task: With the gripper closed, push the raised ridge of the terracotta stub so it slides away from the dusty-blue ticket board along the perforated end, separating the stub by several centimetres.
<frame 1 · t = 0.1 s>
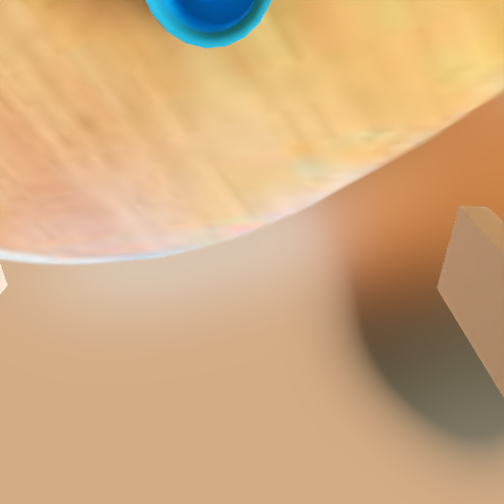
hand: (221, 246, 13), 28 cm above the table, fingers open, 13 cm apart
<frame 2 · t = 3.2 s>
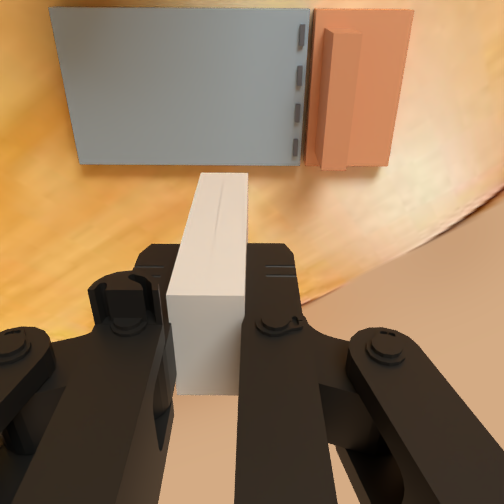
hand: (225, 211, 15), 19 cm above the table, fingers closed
stub: (358, 98, 29), point 2 cm above the table, slide at 0.0 cm
ticket: (187, 89, 31), on the table
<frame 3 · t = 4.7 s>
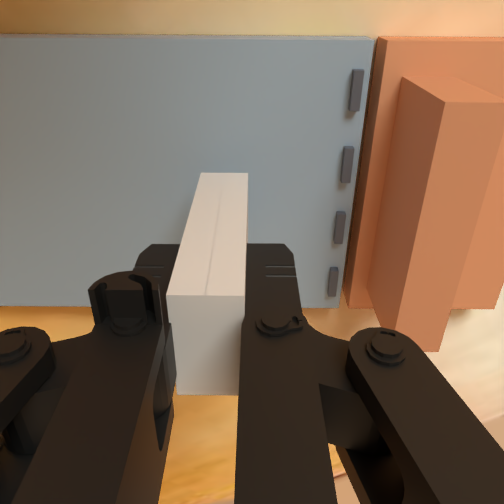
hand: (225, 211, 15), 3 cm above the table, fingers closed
stub: (463, 211, 15), point 2 cm above the table, slide at 0.0 cm
ticket: (135, 181, 17), on the table
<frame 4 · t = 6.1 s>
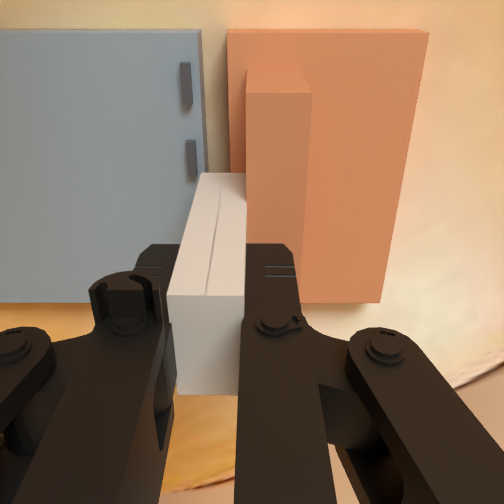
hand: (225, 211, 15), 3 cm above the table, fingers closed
stub: (320, 204, 15), point 2 cm above the table, slide at 0.5 cm, touching gripper
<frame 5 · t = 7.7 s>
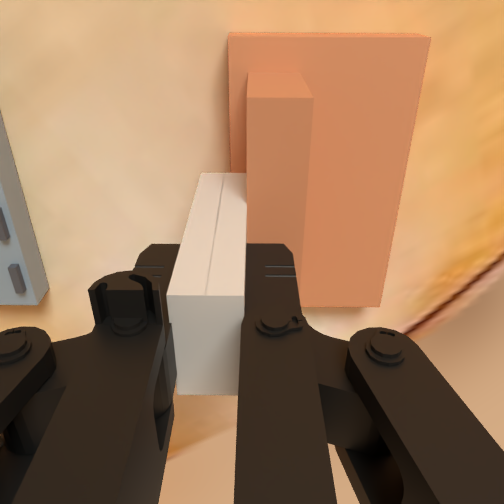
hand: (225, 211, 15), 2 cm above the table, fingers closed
stub: (320, 208, 15), point 2 cm above the table, slide at 7.6 cm, touching gripper
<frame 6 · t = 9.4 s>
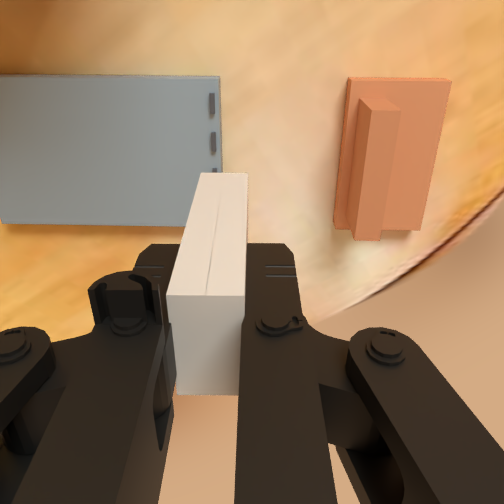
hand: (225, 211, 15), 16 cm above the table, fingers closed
stub: (393, 167, 28), point 2 cm above the table, slide at 7.7 cm
ticket: (106, 152, 31), on the table
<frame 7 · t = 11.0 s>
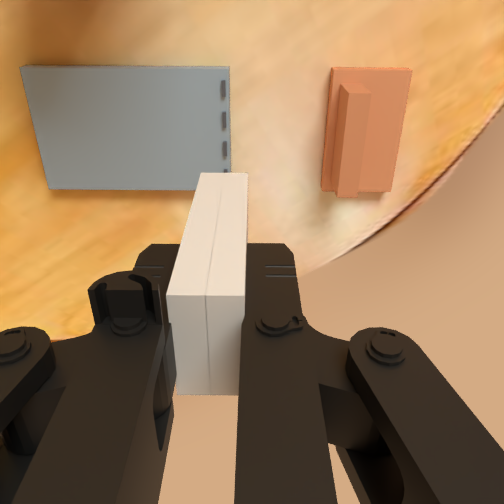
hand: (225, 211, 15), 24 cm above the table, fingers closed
stub: (367, 139, 36), point 2 cm above the table, slide at 7.7 cm
ticket: (135, 129, 38), on the table
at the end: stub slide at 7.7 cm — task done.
